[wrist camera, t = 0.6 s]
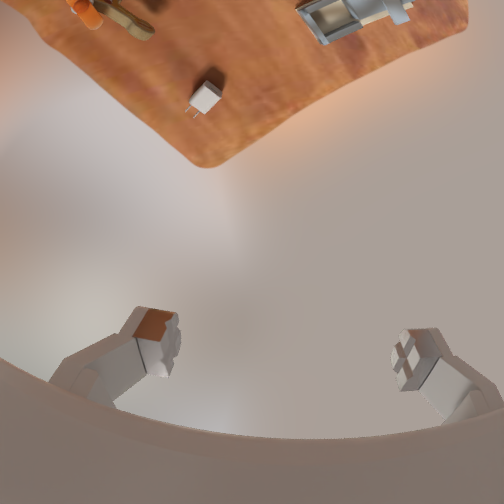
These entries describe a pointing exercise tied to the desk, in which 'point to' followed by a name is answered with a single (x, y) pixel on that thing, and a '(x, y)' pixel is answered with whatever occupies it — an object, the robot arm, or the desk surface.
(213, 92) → the usb wall charger
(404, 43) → the desk surface
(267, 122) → the desk surface
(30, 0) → the desk surface
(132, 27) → the toy helicopter
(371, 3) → the jig
